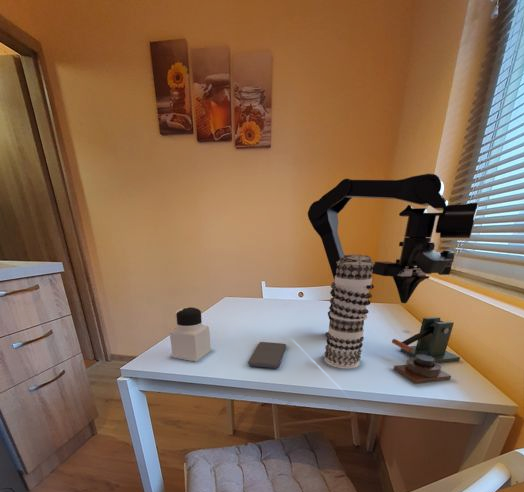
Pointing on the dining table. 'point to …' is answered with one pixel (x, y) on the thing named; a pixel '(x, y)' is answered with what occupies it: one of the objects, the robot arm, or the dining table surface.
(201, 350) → the medicine bottle
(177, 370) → the dining table surface
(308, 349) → the dining table surface
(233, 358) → the dining table surface
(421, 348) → the bracket
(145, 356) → the dining table surface
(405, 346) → the lever
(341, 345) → the decorative candle
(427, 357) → the button
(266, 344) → the smartphone
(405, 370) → the button block
